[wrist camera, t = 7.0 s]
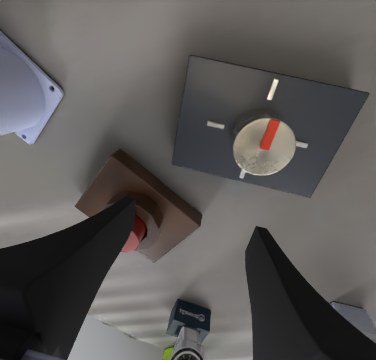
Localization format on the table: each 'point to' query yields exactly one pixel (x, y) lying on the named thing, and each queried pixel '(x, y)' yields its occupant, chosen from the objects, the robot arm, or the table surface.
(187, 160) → the timer panel
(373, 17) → the table surface
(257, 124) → the dial
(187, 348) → the watch
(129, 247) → the push knob
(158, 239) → the button block
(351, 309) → the medicine box
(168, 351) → the soap dispenser
